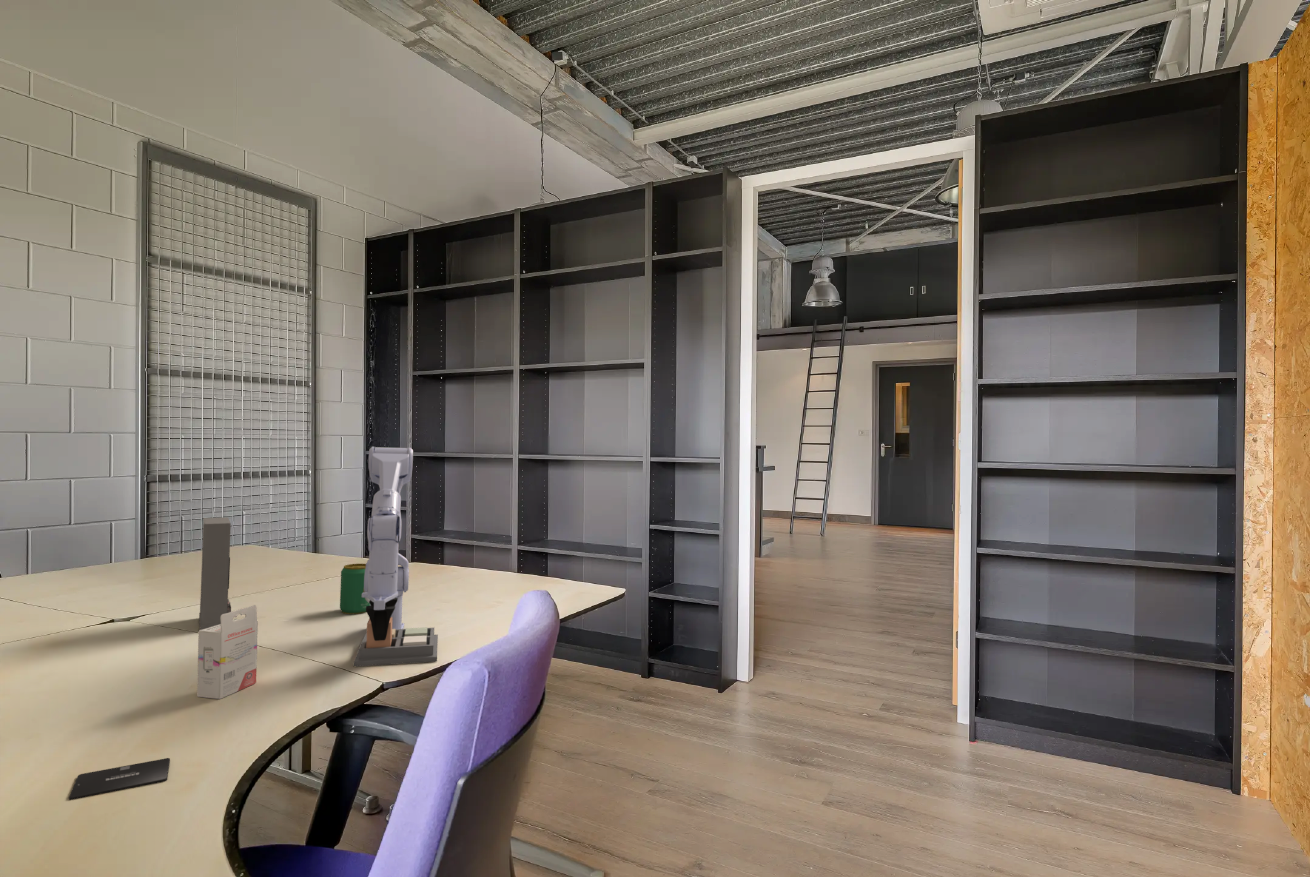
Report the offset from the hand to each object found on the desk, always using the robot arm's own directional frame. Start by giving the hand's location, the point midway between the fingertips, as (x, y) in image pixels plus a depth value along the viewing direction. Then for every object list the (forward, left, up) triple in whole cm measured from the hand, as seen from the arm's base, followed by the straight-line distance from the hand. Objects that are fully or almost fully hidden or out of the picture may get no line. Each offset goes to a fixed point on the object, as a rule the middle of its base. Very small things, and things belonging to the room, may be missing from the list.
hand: (381, 636), depth 144 cm
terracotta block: (0, 0, -2) cm, 2 cm away
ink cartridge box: (+14, -25, -5) cm, 29 cm away
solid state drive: (+47, -28, -5) cm, 55 cm away
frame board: (-3, +3, -4) cm, 7 cm away
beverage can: (-43, -10, -5) cm, 44 cm away
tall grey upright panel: (-36, -41, -5) cm, 54 cm away
